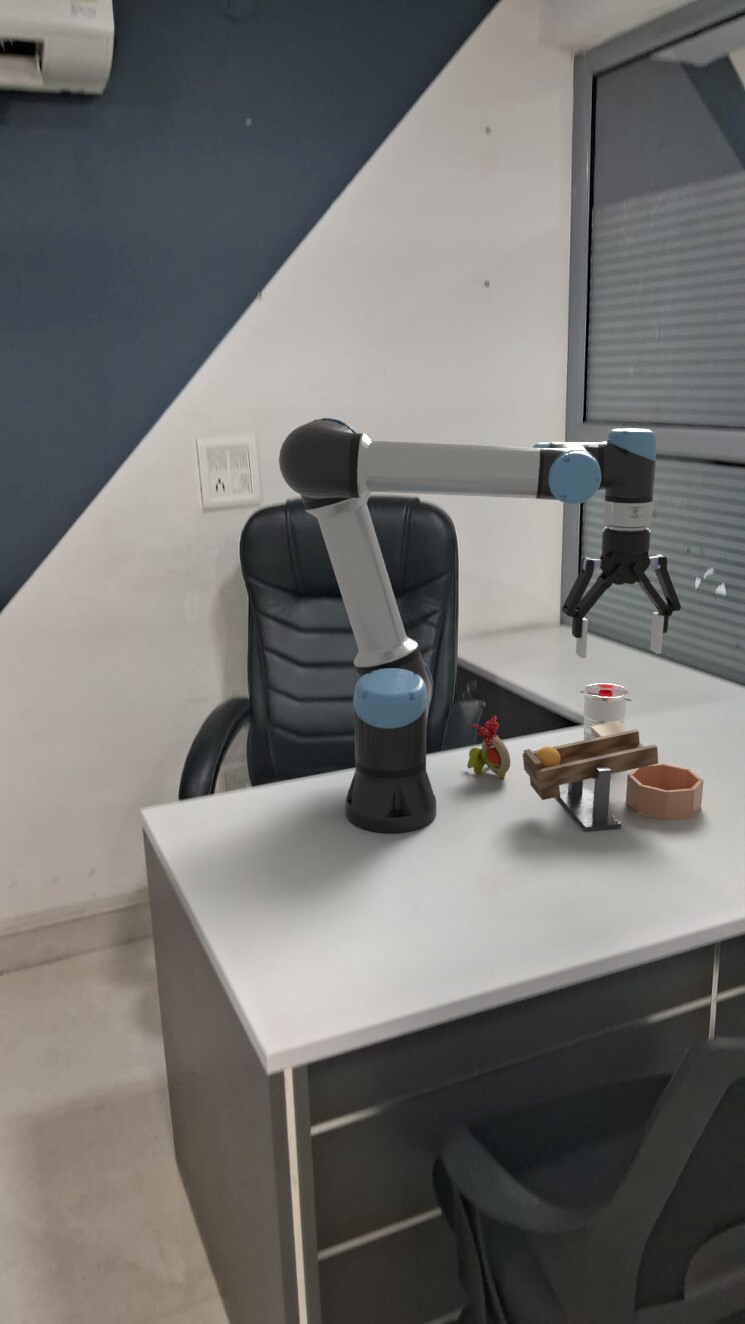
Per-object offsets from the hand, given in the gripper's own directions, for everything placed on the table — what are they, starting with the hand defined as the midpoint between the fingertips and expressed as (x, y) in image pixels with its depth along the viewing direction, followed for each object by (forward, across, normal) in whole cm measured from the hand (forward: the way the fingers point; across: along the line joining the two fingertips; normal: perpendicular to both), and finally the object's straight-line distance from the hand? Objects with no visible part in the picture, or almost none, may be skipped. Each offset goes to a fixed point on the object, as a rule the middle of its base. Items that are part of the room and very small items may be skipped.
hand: (618, 653), depth 166 cm
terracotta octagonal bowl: (+25, +6, -8) cm, 27 cm away
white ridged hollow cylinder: (+25, +6, +17) cm, 31 cm away
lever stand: (+25, -7, -8) cm, 27 cm away
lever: (+19, -7, -4) cm, 21 cm away
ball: (+15, -14, -8) cm, 22 cm away
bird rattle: (+25, -18, +10) cm, 33 cm away
